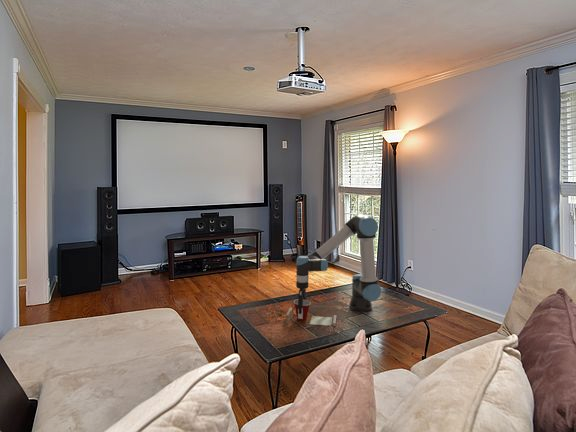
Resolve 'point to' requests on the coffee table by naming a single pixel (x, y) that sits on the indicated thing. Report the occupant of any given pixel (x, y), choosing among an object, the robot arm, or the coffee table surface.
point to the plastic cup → (305, 309)
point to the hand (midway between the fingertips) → (302, 314)
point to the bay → (315, 319)
